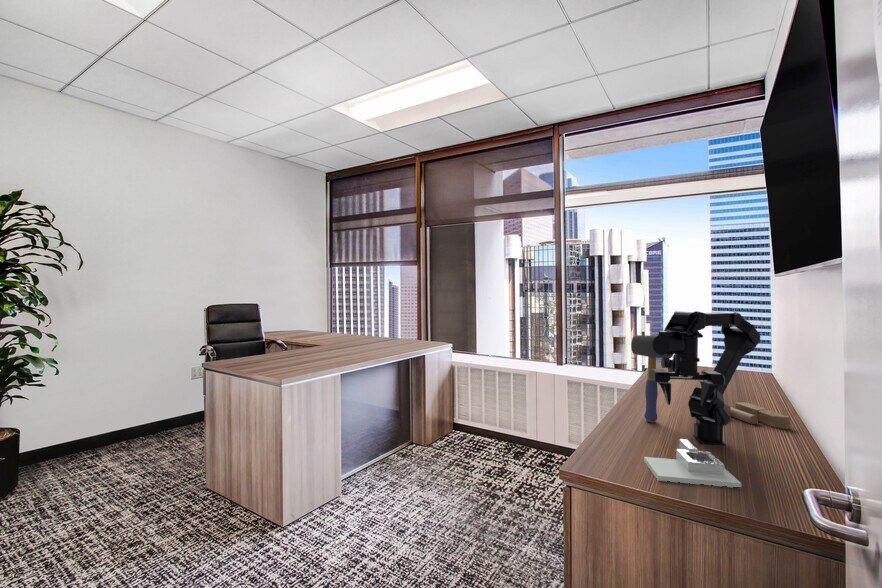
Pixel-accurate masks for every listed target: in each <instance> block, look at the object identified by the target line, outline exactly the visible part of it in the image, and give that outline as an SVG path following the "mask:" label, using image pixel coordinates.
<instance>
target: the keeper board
mask: <svg viewBox="0 0 882 588" xmlns="http://www.w3.org/2000/svg"><path fill="white" fill-rule="evenodd" d="M695 460H701V461H705V455H704V454H703V453H702V452H697V453H696V454H695ZM643 462H644V464H645V465H646V466H647V467H648V469H649V470H650V472H651V473H652V475H653V476H654V477H655V479H656V478H657V479H656V480H657V481H658V482H659V481H660V482H667V481H670V482H671V483H678V482H680V483H682V484H689V483H690V484H692V485H700V484H704V485H703V486H711V485H713V486H712V487H722V486H727V487H726V488H733V487H741V488H742V482H741V481H739V479H737V478H736V477H735V476H734V475H733V474H732V473H731V472H729V471H728V470H727V469H726V468H725V467H724V475H718V474H707V473H696V472H688V471H687V470H686V469H685V468H684V467H683V466H682V464H681V463H680V462H679V461H678V460H677V459H676V458H675V459H673V458H663V457H662V458H661V457H651V456H644V457H643ZM670 482H669V483H670ZM680 483H679V484H680Z"/></svg>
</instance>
